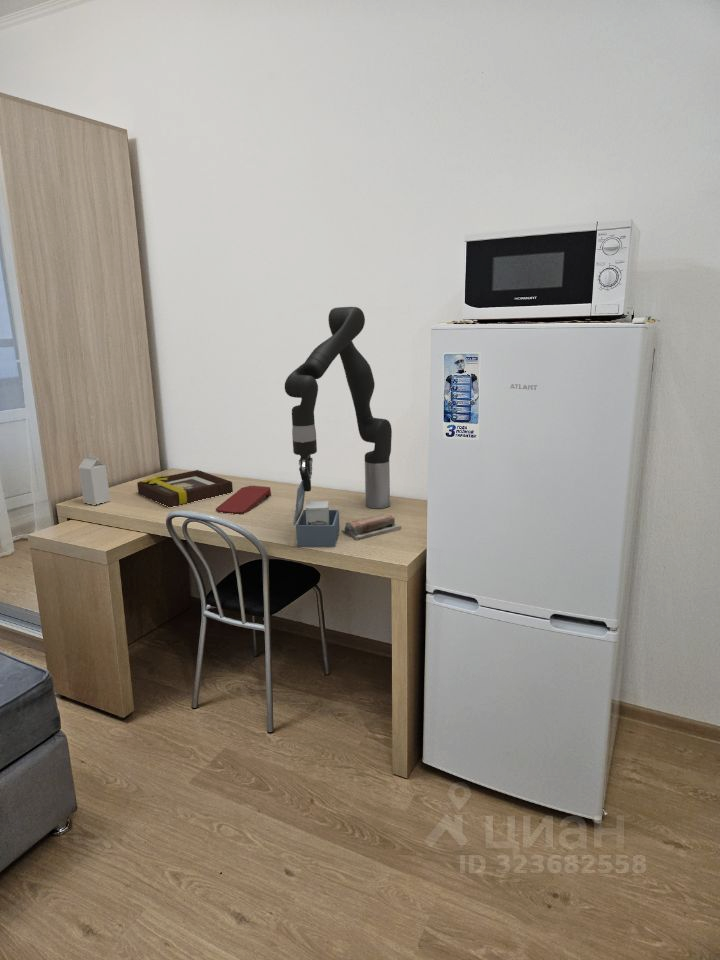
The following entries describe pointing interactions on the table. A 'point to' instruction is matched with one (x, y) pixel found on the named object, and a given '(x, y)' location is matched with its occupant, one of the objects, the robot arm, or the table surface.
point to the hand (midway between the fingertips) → (307, 490)
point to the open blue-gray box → (318, 531)
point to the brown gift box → (184, 487)
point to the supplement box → (317, 513)
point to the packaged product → (371, 526)
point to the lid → (299, 502)
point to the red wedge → (244, 499)
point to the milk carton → (94, 481)
